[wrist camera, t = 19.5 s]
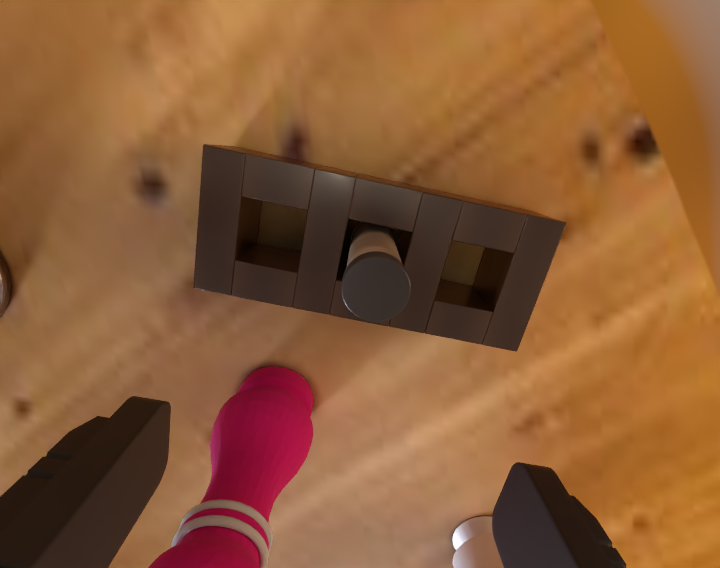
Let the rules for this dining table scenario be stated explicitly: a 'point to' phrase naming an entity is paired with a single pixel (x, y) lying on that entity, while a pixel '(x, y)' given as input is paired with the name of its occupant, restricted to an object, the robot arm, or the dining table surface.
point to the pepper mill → (246, 473)
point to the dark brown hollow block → (381, 207)
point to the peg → (374, 275)
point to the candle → (476, 545)
